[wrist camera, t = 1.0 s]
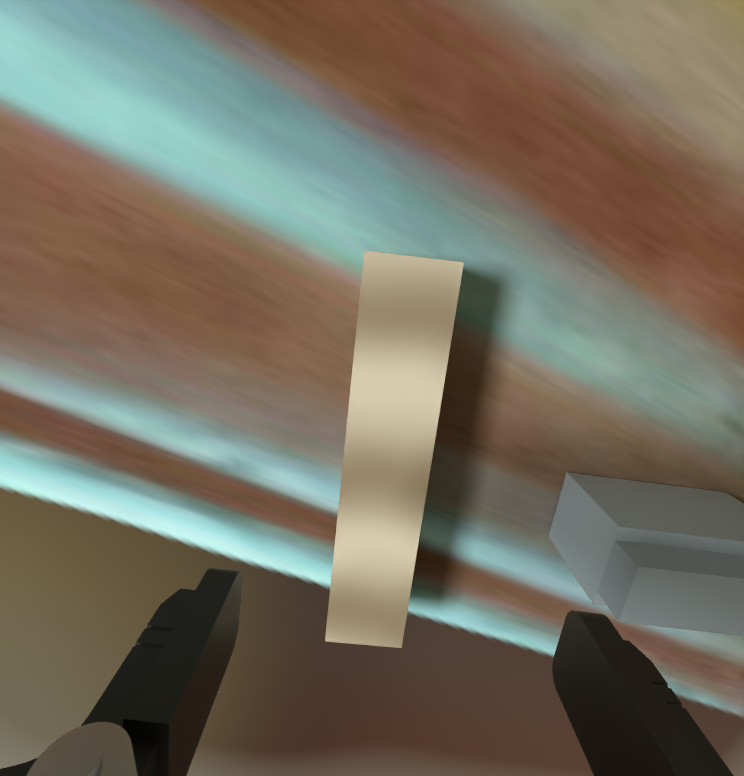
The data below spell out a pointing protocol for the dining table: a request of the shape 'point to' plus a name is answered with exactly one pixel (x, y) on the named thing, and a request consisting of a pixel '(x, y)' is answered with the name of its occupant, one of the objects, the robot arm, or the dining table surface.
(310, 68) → the dining table surface
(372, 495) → the bar
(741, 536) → the grey stepped block
